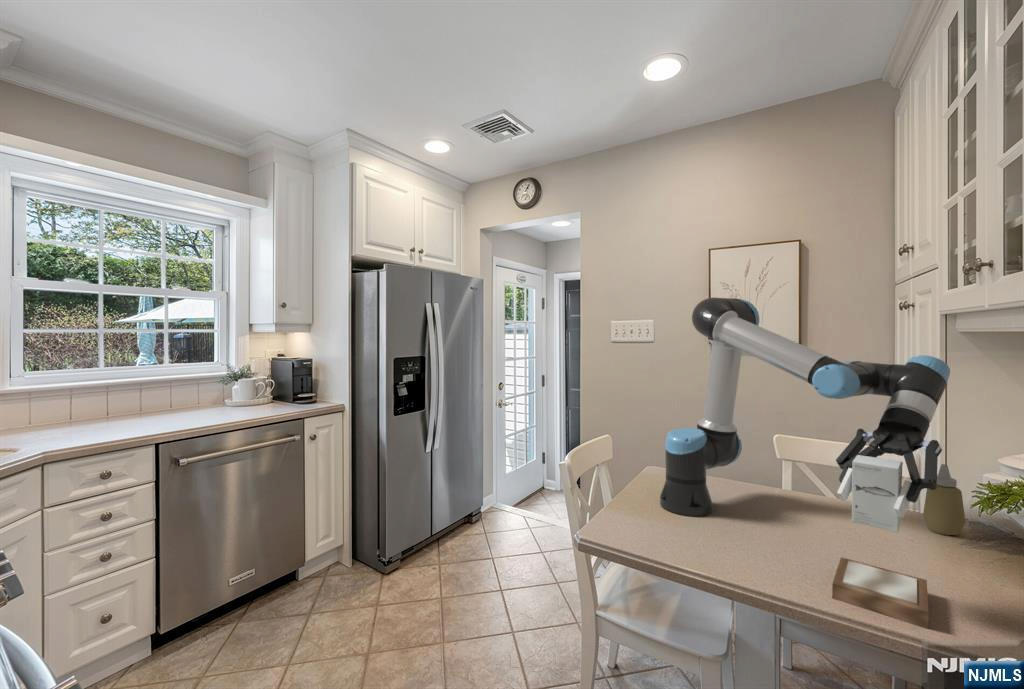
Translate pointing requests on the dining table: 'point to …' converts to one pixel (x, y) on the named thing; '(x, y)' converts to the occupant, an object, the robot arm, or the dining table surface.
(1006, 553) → the dining table surface
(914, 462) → the robot arm
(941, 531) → the squeeze bottle
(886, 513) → the supplement box
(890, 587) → the picture frame
